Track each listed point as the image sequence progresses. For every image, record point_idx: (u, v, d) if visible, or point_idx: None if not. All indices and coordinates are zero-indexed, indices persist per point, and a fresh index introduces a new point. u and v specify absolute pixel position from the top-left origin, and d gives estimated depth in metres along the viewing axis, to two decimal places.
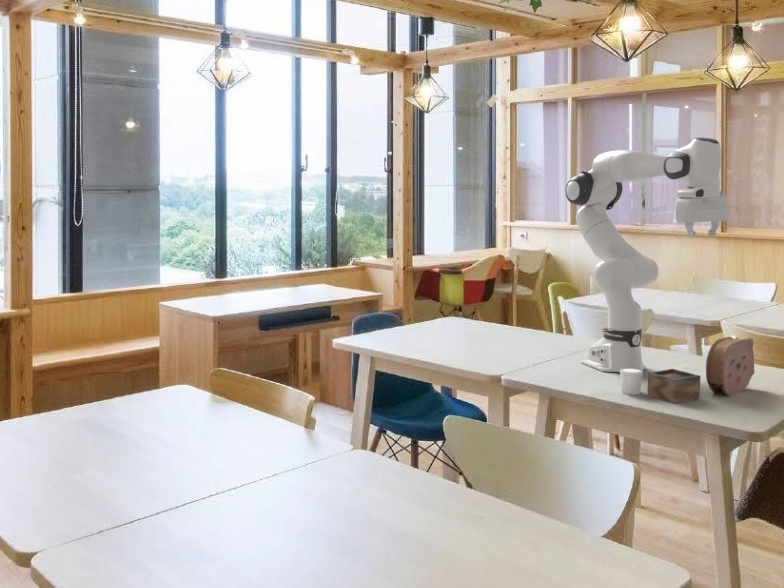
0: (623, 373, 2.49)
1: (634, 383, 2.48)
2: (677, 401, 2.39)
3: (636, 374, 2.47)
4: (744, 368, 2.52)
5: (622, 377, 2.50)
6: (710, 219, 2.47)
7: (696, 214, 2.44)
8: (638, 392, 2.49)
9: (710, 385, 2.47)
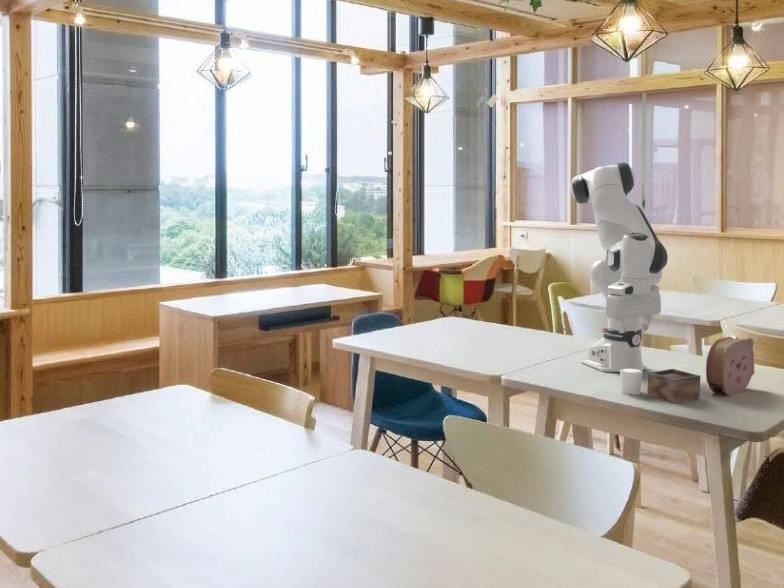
0: (623, 373, 2.49)
1: (634, 383, 2.48)
2: (677, 401, 2.39)
3: (636, 374, 2.47)
4: (744, 368, 2.52)
5: (622, 377, 2.50)
6: (641, 314, 2.47)
7: (626, 310, 2.43)
8: (638, 392, 2.49)
9: (710, 385, 2.47)
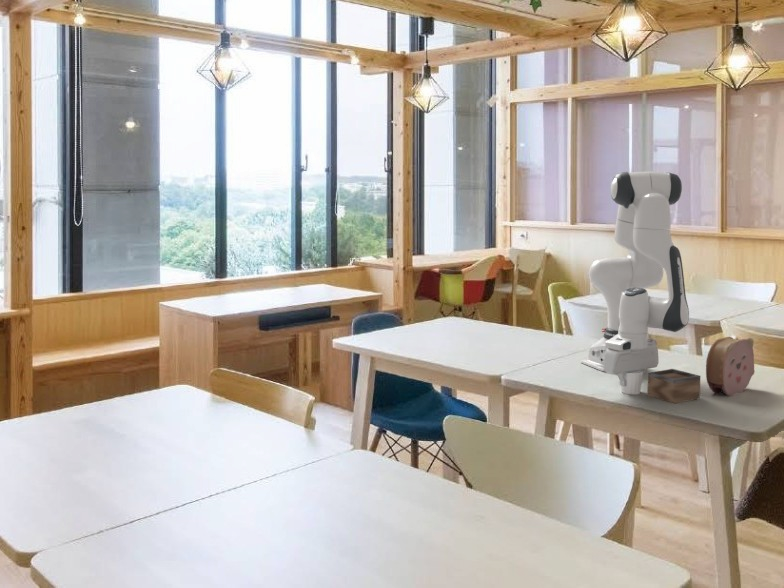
0: None
1: (634, 383, 2.48)
2: (677, 401, 2.39)
3: (636, 374, 2.47)
4: (744, 368, 2.52)
5: None
6: (639, 368, 2.49)
7: (623, 365, 2.46)
8: (638, 392, 2.49)
9: (710, 385, 2.47)
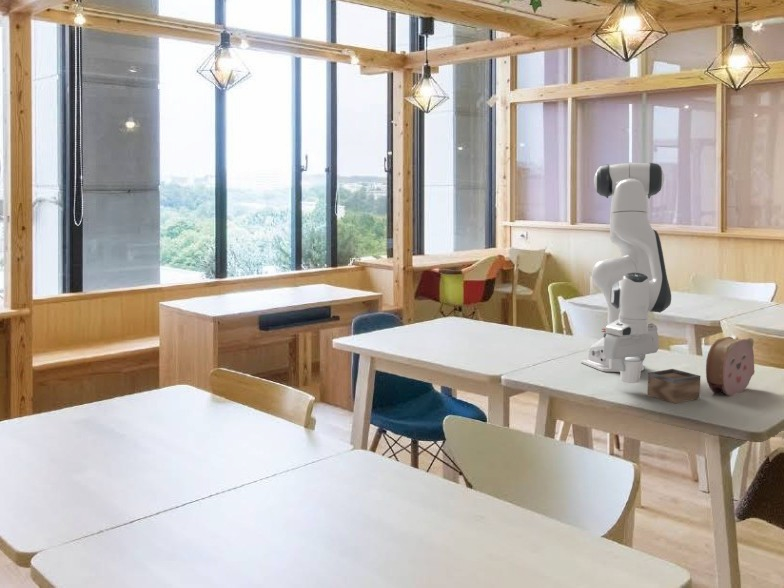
0: None
1: (633, 372, 2.48)
2: (677, 401, 2.39)
3: (635, 363, 2.47)
4: (744, 368, 2.52)
5: None
6: (638, 353, 2.49)
7: (623, 350, 2.46)
8: (637, 381, 2.49)
9: (710, 385, 2.47)
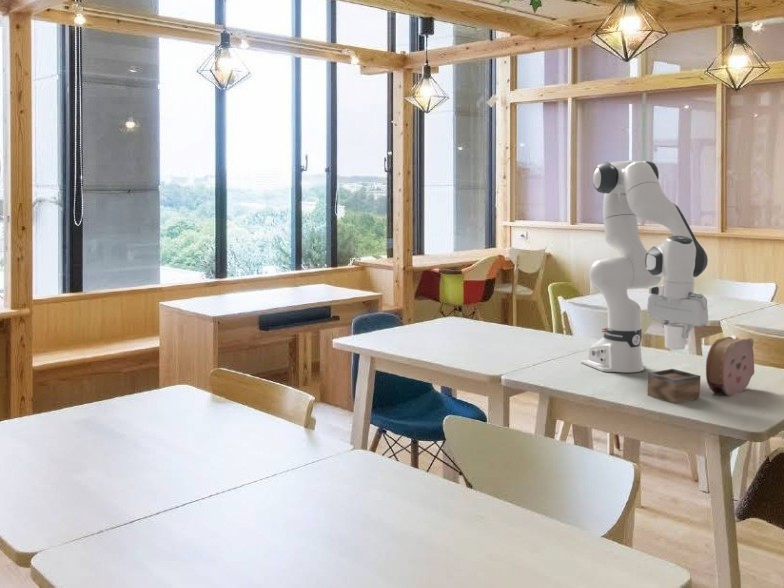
0: None
1: (665, 336, 2.43)
2: (677, 401, 2.39)
3: (665, 326, 2.42)
4: (744, 368, 2.52)
5: None
6: (676, 320, 2.40)
7: (658, 311, 2.46)
8: (669, 347, 2.42)
9: (710, 385, 2.47)
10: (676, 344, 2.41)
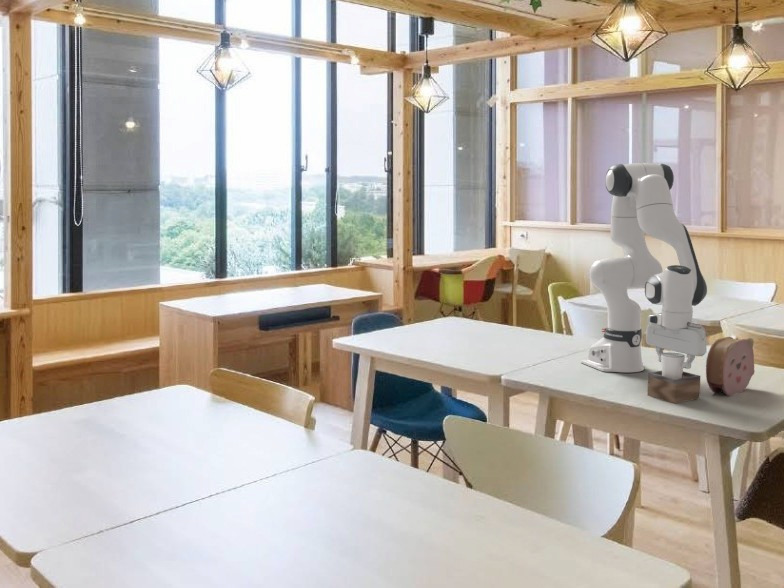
0: None
1: (662, 365, 2.45)
2: (677, 401, 2.39)
3: (662, 356, 2.44)
4: (744, 368, 2.52)
5: None
6: (674, 349, 2.42)
7: (657, 339, 2.47)
8: (666, 376, 2.44)
9: (710, 385, 2.47)
10: (673, 374, 2.42)
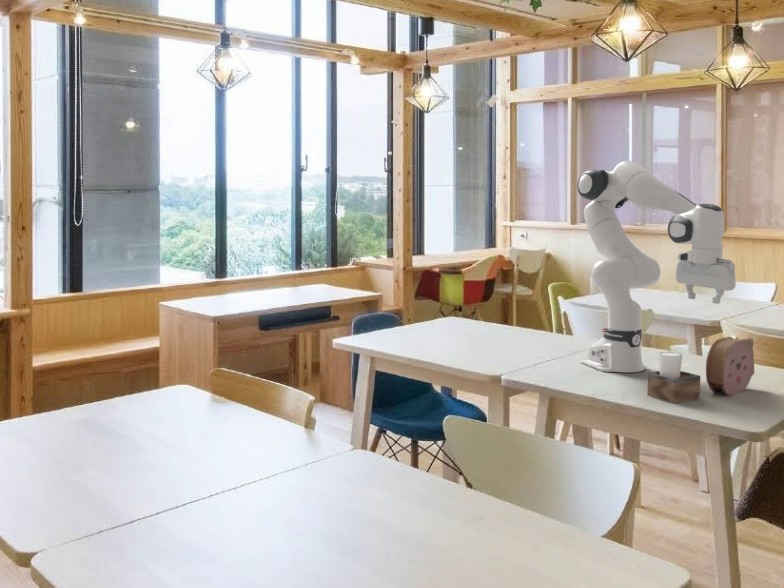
0: None
1: (660, 365, 2.46)
2: (677, 401, 2.39)
3: (660, 356, 2.45)
4: (744, 368, 2.52)
5: None
6: (704, 285, 2.49)
7: (687, 276, 2.55)
8: None
9: (710, 385, 2.47)
10: (671, 373, 2.43)
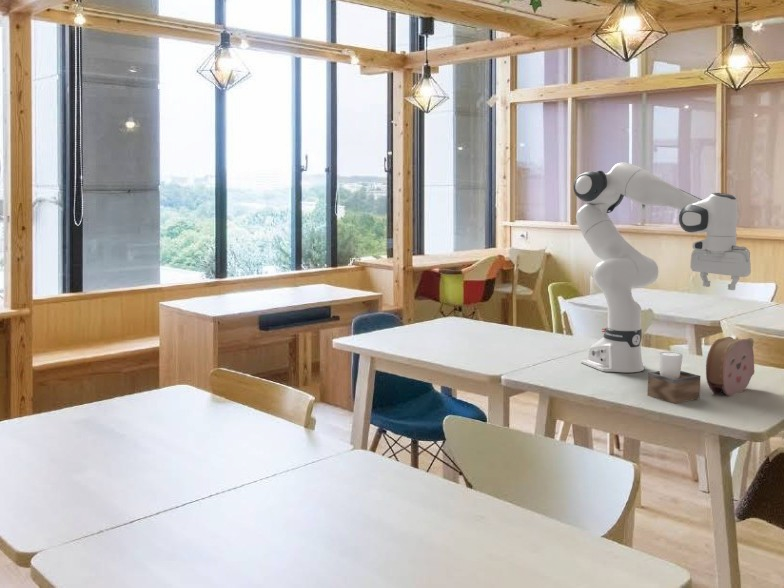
0: None
1: (660, 365, 2.46)
2: (677, 401, 2.39)
3: (660, 356, 2.45)
4: (744, 368, 2.52)
5: None
6: (719, 272, 2.54)
7: (702, 264, 2.60)
8: None
9: (710, 385, 2.47)
10: (671, 373, 2.43)
